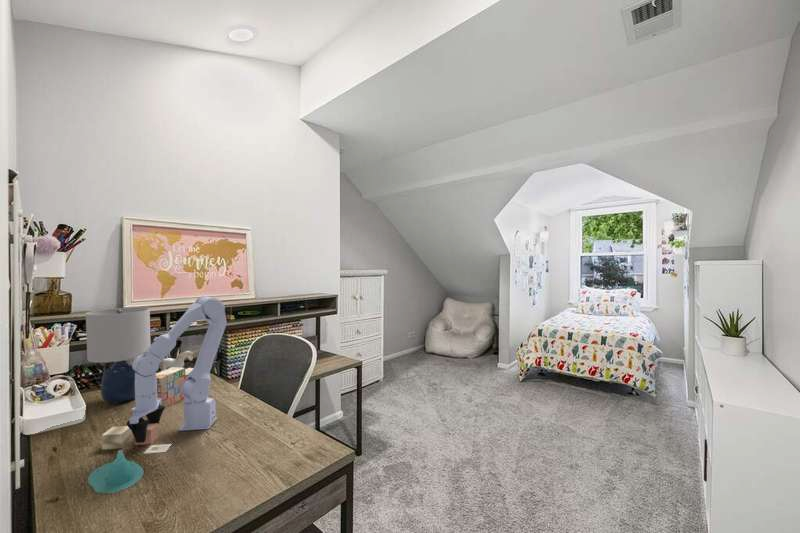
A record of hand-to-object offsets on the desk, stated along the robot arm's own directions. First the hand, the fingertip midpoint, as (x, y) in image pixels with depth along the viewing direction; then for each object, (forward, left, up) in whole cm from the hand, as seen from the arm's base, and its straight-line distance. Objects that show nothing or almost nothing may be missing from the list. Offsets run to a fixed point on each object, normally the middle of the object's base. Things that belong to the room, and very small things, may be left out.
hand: (147, 436), depth 116 cm
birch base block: (+8, +1, -2) cm, 8 cm away
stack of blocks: (+7, -36, -2) cm, 37 cm away
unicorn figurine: (+17, -64, -2) cm, 66 cm away
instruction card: (-6, +6, -1) cm, 9 cm away
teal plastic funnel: (-2, +18, -2) cm, 19 cm away
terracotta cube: (0, 0, -2) cm, 2 cm away
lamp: (+28, -37, -2) cm, 46 cm away
